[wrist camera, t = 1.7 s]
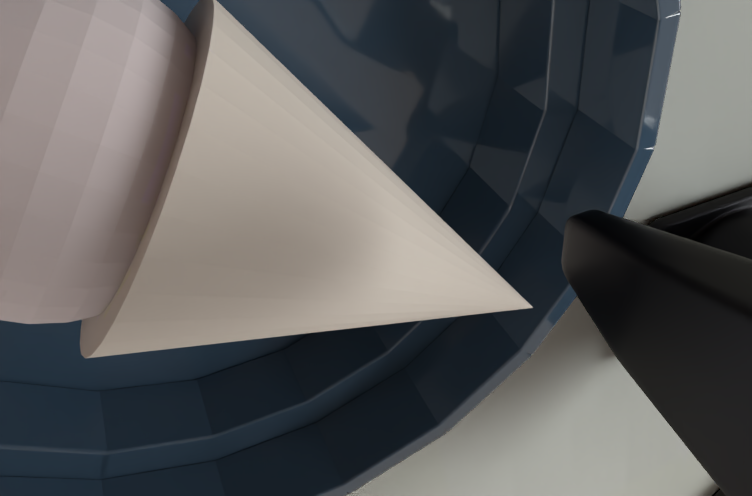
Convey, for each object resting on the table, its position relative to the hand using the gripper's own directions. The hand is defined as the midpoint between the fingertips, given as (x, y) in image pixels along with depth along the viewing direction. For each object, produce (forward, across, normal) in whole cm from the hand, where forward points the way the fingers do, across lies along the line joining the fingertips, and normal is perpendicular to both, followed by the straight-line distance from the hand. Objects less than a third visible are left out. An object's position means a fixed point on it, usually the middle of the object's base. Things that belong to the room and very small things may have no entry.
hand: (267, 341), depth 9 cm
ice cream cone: (+7, 0, 0) cm, 7 cm away
